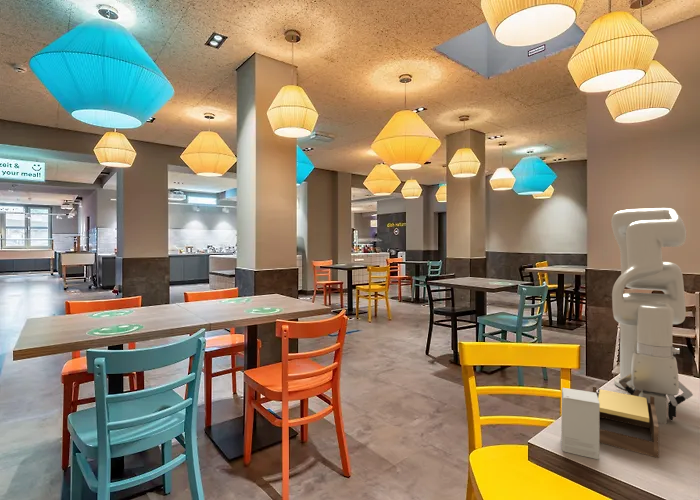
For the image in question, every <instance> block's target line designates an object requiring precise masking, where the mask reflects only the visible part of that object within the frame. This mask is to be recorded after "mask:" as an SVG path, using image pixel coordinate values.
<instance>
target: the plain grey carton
mask: <svg viewBox="0 0 700 500" xmlns="http://www.w3.org/2000/svg"><path fill="white" fill-rule="evenodd" d="M650 396H652V397H654V405H655V410H656V415H657V420H658V424H659V423H660V424H665V425H667V421H668V417H667V415H668V413H667V411H668V410H667V409H668V408H667V407H668V406H667V405H668V396H667V395H666V394H660V393H654V392H649V391H643V390H642V397H644V398H648V402H649V403H650Z"/></svg>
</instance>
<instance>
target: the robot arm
mask: <svg viewBox="0 0 700 500" xmlns="http://www.w3.org/2000/svg"><path fill="white" fill-rule="evenodd" d="M610 224H611V230H612V233H613V237H614V240H615V241H616V243H617V245H618V248H619V252H620V253H619V254H620V273H621V274H620V275H619V276H618V278H617V279H616V281H615V282H614V284H613V287H612V291H611V292H612V293H611V299H612V300H611V301H612V304H611V305H612V314H613V319H614V321H616V323H619V332H620V334H619V335H620V336H619V337H620V338H619V340H620V341H619V346H620V347H619V353H620V354H619V377H617V378H615V379H614V385H615V386H616V387H619V388H621V389H623V390H625V391H626V392H627V394H628V395H633V396H639V394H640V393H641V391H642V390H643V391H649V392H654V393H660V394H666V397H667V398H668V399H669V401H667V405H668V406H667V407H668V408H667V409H668V410H667V411H668V413H667V415H668V417H667V418H668V420H669V421H674V418H676V417H677V406H679V405H680V404H682V403H684V402H685V401H686V400H688V399H690V398H691V397H693V396H694V393H693V392H692V391H691V390H690V389H689V388H688V387H687V386H685V385H684V384H683V383H682V382H681V381H680V380H679V379H680V378H679V369H678V362H677V359H676V356H674V355H677V354H678V355H680V352H681V351H680V348H676V347H674V346H673V326H674V325H680V324H682V323H683V322H684V321H685V319H686V314H687V312H686V311H687V308H686V298H685V297H686V296H685V287H684V285H685V284H684V276H683V272H682V269H681V267H680V266H679V265H678V264H677V263H675V262H670V261H663V252H662V251H663V250H662V248H666V247H667V248H670V247H671V248H674V247H675V248H676V247H677V248H679V247H681V246H684V244H685V242H686V239H687V229H686V228H687V227H686V226H685V223H684V220H683V219H682V217H681V216H680V214H679V212H678V211H677V210H675V208H671V207H654V208H630V209H623V210H619V211H616V212H615V213H613V214H612V217H611V223H610ZM625 288H627V289H632V290H644V291H645V290H646V291H661V292H663V293H652V292H651V293H650V292H649V293H648V292H625V293H624V290H625ZM680 391H681V392H682V393H681V394H679V393H680Z"/></svg>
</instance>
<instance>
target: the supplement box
mask: <svg viewBox="0 0 700 500" xmlns="http://www.w3.org/2000/svg"><path fill="white" fill-rule="evenodd" d="M599 409H600V403H599V400H598V396H597V393H594V392H593V391H586V390H581V389H574V388H567V387H566V388H565V387H562V388H561V424H560V425H561V427H560V428H561V434H560V435H561V436H560V437H561V439H560V440H561V450H562V452H565V453H569V454H573V455H576V456H582V457H585V458H590V459H594V460H599V459H600V443H599V429H600V417H599Z"/></svg>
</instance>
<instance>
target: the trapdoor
mask: <svg viewBox="0 0 700 500" xmlns="http://www.w3.org/2000/svg"><path fill="white" fill-rule="evenodd" d="M597 392H598V393H599V397H598V400H599V403H600V409H599V412H603V413H608V414H613V415H617V416H622V417H626V418H631V419H636V420H640V421H645V422H649V413H648V406H647V402H648V398H644V397H639V396H633V395H630V394H629V393H622V392H617V391H612V390H607V389H602V388H601V389H597Z"/></svg>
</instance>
